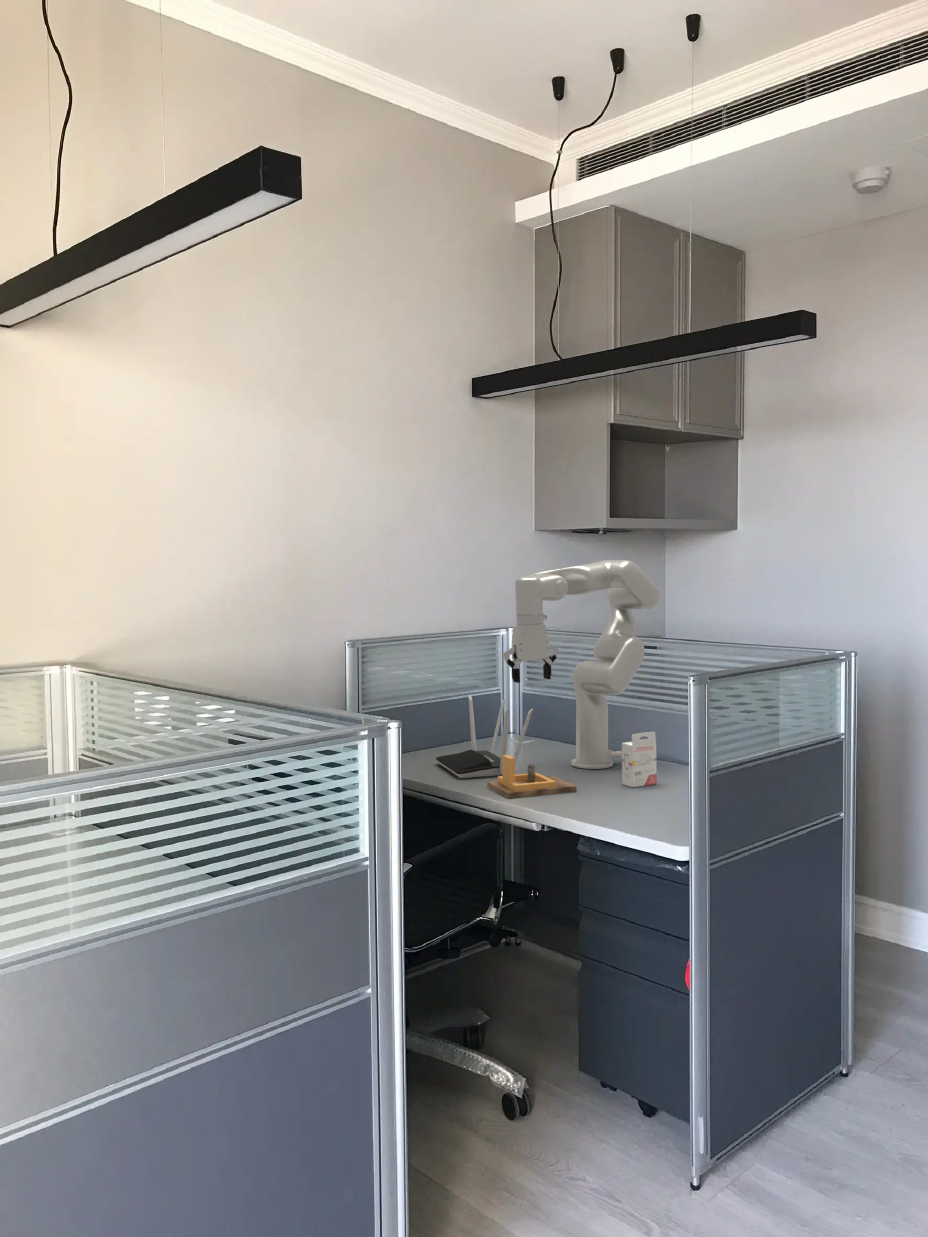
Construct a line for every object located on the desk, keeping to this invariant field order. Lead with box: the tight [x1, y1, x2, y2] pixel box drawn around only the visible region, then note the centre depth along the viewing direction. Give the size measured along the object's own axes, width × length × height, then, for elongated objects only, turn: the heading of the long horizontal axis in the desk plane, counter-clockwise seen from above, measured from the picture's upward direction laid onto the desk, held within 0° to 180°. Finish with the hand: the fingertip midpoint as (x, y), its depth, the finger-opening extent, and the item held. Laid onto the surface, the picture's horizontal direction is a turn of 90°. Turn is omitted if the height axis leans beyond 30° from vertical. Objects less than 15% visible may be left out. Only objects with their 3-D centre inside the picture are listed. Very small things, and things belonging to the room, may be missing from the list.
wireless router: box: [435, 694, 534, 779], centre depth 293 cm, size 34×23×20 cm
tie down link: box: [497, 754, 556, 791], centre depth 266 cm, size 12×12×8 cm
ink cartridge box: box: [621, 731, 658, 788], centre depth 272 cm, size 9×5×15 cm, turn 117°
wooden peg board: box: [487, 763, 577, 799], centre depth 267 cm, size 20×14×7 cm
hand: (531, 680), depth 279 cm, fingers open, 9 cm apart
